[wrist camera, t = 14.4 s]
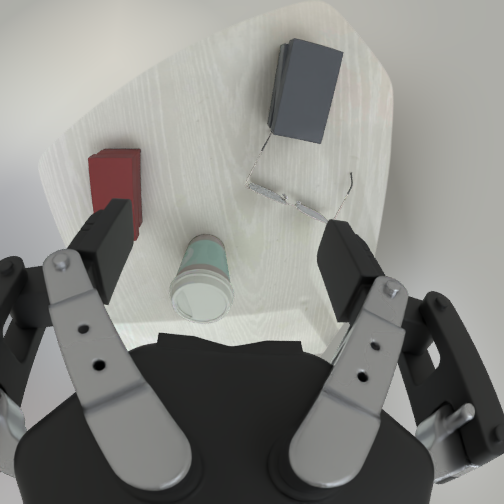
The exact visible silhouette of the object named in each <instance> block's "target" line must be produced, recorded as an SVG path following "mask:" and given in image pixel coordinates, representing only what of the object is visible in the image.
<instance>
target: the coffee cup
mask: <svg viewBox="0 0 504 504" xmlns="http://www.w3.org/2000/svg"><path fill="white" fill-rule="evenodd" d="M170 299H171V302H172V306H173V308H174V310H175V311H176V313H177V314H178V315H179V316H181V317H182V318H184V319H186V320H188V321H191V322H194V323H201V324H206V323H212V322H216V321H218V320H220V319H222V318H223V317H224V316H225V315H226V314H227V313H228V311H229V309H230V307H231V306H232V303H233V299H234V290H233V287H232V285H231V283H230V277H229V271H228V265H227V259H226V253H225V248H224V245H223V243H222V242H221V241H220V240H219V239H218V238H217V237H215V236H212V235H200V236H197V237H195V238H194V239H193V240H192V241H191V242H190V244H189V246H188V248H187V251H186V253H185V256H184V258H183V260H182V263H181V265H180V268H179V270H178V273H177V276H176V277H175V279H174V280H173V281H172V283H171V285H170Z"/></svg>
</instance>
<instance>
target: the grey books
mask: <svg viewBox="0 0 504 504" xmlns="http://www.w3.org/2000/svg"><path fill="white" fill-rule="evenodd" d="M342 57H343V52H341V51H338V50H335V49H332V48H328V47H325V46H322V45H318V44H315V43H311V42H307V41H303V40H299V39H295V38H294V39H292V40H290V42H289V44H282V45H281V47H280V53H279V59H278V65H277V71H276V76H275V82H274V88H273V94H272V100H271V106H270V112H269V117H268V123H267V124H268V126H269V128H271V131H272V133H273V134H274V135H279V136H285V137H290V138H295V139H300V140H304V141H309V142H314V143H318V144H321V141H322V138H323V134H324V130H325V126H326V122H327V118H328V114H329V111H330V107H331V103H332V99H333V95H334V90H335V86H336V82H337V78H338V74H339V70H340V65H341V61H342Z"/></svg>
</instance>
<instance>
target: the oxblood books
mask: <svg viewBox="0 0 504 504" xmlns="http://www.w3.org/2000/svg"><path fill="white" fill-rule="evenodd" d="M97 154H135V155H136V191H137V211H138V226H139V227H140V225H141V223H142V206H141V173H140V149H103V150H101V151H100V152H99V153H97Z"/></svg>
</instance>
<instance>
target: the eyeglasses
mask: <svg viewBox="0 0 504 504" xmlns="http://www.w3.org/2000/svg"><path fill="white" fill-rule="evenodd" d="M271 132H272V131H271ZM270 135H271V134H270ZM269 137H270V136H269ZM268 139H269V138H268ZM268 139H267V141H268ZM267 141H266V143H267ZM266 143H265V145H266ZM265 145H264V146H263V148H262V150H261V152H262V151H263V149H264V147H265ZM260 154H261V153H260ZM259 156H260V155H259ZM258 159H259V157H258ZM258 159H257V161H258ZM257 161H256V163H257ZM256 163H255V165H256ZM255 165H254V167H255ZM254 167H253V169H254ZM253 169H252V171H253ZM252 171H251V173H252ZM251 173H250V175H249V177H248V179H247V181H246V183H245V187H247V188H249V189H251V190H252V191H254V192H256V193H258V194H260V195H262V196H264V197H266V198H269V199H271V200H273V201H276V202H279V203H282V204H289V203H287V202H286V201H285V200H286V199H287V200H288V198H287V196H286V195H285V194H283V196H284V198H285V199H284V198H282V197H281V196H280V195H278V194H277V193H275V192H273V191H271V190H268V189H266V188H264V187H262V186H259V185H257V184H254V183H250V184H249V186H246V184H247V182H248V180H249V178H250V176H251ZM350 175H351V187H350V189H349V191H348V194H349V192H350V190H351V188H352V184H353V181H352V172H351V173H350ZM348 194H347V196H348ZM347 196H346V198H347ZM346 198H345V199H344V201H345V200H346ZM344 201H343V203H344ZM343 203H342V205H343ZM289 205H292V204H289ZM342 205H341V207H342ZM292 206H294V205H292ZM294 207H296V208H297V209H298V210H299V211H301V212H302V213H304V214H306V215H308V216H310V217H312V218H314V219H316V220H318V221H321V222H323V223H326V224H327V222H328V220H327V219H326V218H325V217H324V216H323V215H321V214H320V213H318V212H317V211H315V210H313V209H311V208H308V207H306V206H304V205H302V204H301V201H297V202H296V204H295V206H294ZM341 207H340V209H341ZM340 209H339V210H338V212H337V214H336V216H335V218H334V219H333V220H335V219H336V217H337V215H338V213H339V211H340Z"/></svg>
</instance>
